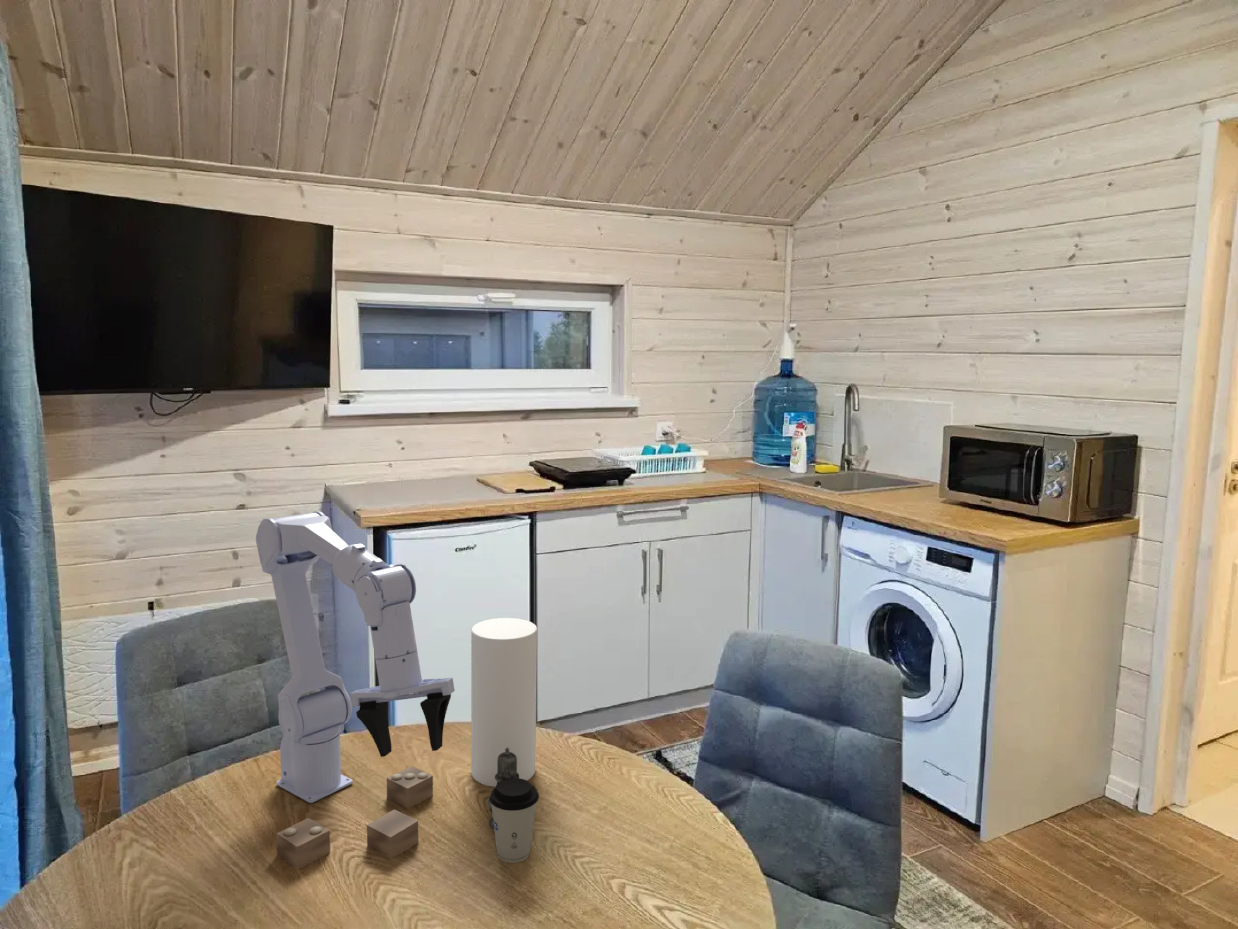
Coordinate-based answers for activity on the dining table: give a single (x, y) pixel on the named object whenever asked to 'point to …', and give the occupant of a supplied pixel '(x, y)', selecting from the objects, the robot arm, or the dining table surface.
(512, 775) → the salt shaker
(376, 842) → the plain block
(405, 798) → the three-dot block
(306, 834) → the two-dot block
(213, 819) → the dining table surface
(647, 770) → the dining table surface
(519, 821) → the coffee cup
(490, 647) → the tall pillar cylinder
